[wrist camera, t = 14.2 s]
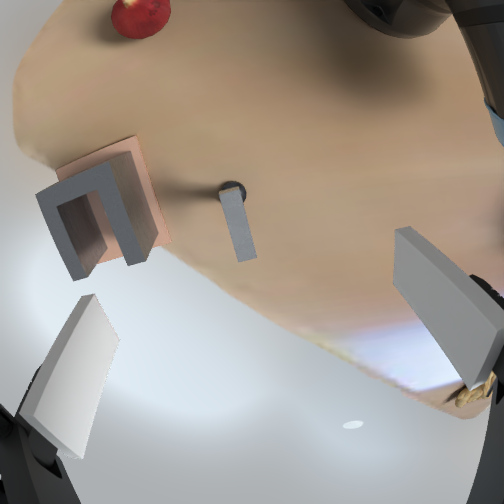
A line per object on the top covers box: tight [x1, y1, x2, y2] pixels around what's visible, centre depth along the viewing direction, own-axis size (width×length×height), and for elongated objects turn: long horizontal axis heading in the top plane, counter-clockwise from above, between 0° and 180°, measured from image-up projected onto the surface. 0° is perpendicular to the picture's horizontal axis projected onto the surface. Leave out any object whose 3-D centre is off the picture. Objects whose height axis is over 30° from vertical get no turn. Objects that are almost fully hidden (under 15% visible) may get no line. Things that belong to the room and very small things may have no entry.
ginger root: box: [455, 371, 496, 408], centre depth 59 cm, size 16×16×8 cm
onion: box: [111, 0, 171, 39], centre depth 20 cm, size 6×6×8 cm
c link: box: [35, 151, 159, 281], centre depth 29 cm, size 10×9×7 cm
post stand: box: [219, 181, 257, 262], centre depth 29 cm, size 6×3×10 cm, turn 13°
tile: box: [55, 136, 172, 264], centre depth 32 cm, size 13×11×1 cm
